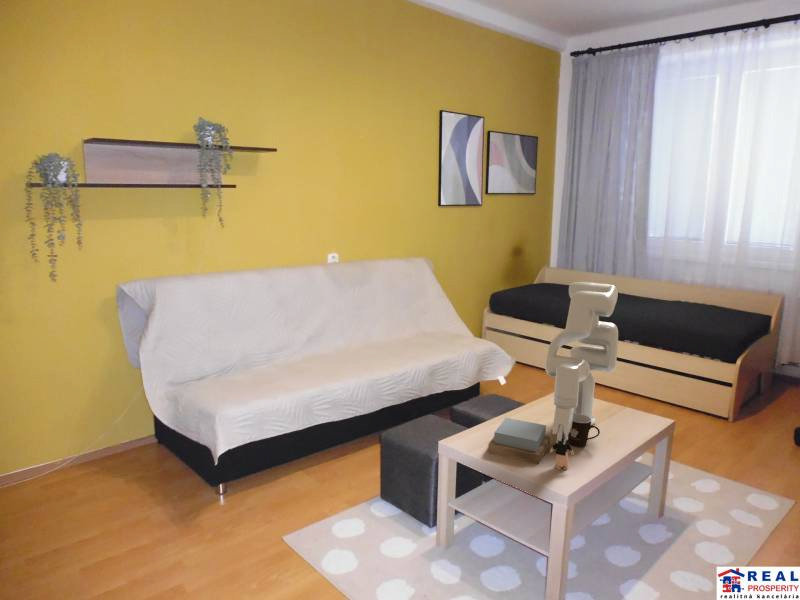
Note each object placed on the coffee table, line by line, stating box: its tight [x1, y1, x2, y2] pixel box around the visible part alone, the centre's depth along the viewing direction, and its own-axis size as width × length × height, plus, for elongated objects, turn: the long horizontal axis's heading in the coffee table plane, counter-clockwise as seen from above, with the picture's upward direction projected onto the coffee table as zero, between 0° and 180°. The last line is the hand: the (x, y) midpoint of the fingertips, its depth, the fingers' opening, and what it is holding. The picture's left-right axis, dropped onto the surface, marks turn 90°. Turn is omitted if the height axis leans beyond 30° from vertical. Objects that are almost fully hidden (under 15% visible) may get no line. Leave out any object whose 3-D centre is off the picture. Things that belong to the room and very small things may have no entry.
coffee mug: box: [568, 414, 601, 448], centre depth 203 cm, size 12×9×10 cm
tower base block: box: [487, 433, 551, 465], centre depth 201 cm, size 18×18×4 cm
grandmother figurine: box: [549, 434, 575, 471], centre depth 186 cm, size 8×4×13 cm, turn 92°
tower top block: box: [493, 417, 547, 452], centre depth 200 cm, size 15×15×4 cm
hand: (561, 451), depth 186 cm, fingers closed on grandmother figurine, 2 cm apart
